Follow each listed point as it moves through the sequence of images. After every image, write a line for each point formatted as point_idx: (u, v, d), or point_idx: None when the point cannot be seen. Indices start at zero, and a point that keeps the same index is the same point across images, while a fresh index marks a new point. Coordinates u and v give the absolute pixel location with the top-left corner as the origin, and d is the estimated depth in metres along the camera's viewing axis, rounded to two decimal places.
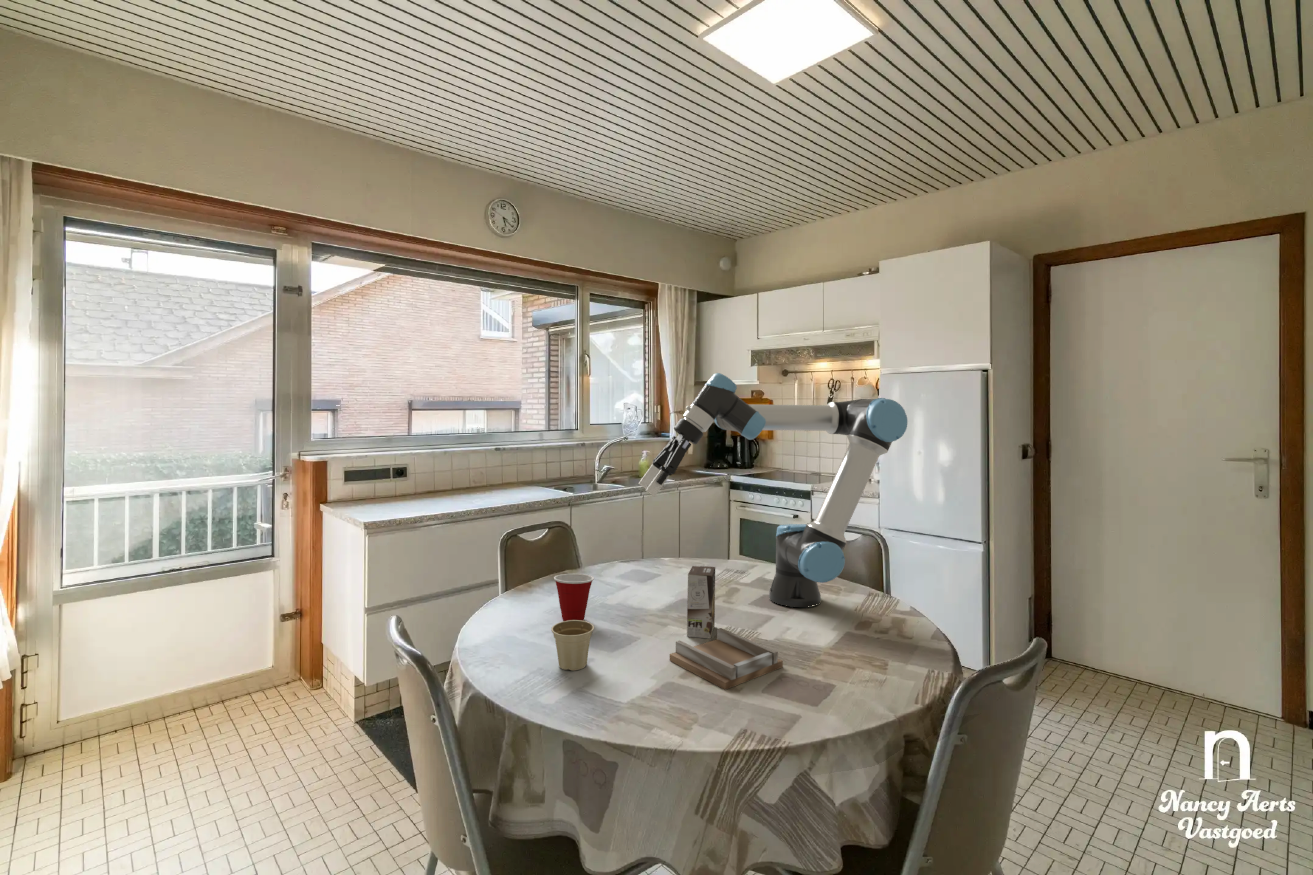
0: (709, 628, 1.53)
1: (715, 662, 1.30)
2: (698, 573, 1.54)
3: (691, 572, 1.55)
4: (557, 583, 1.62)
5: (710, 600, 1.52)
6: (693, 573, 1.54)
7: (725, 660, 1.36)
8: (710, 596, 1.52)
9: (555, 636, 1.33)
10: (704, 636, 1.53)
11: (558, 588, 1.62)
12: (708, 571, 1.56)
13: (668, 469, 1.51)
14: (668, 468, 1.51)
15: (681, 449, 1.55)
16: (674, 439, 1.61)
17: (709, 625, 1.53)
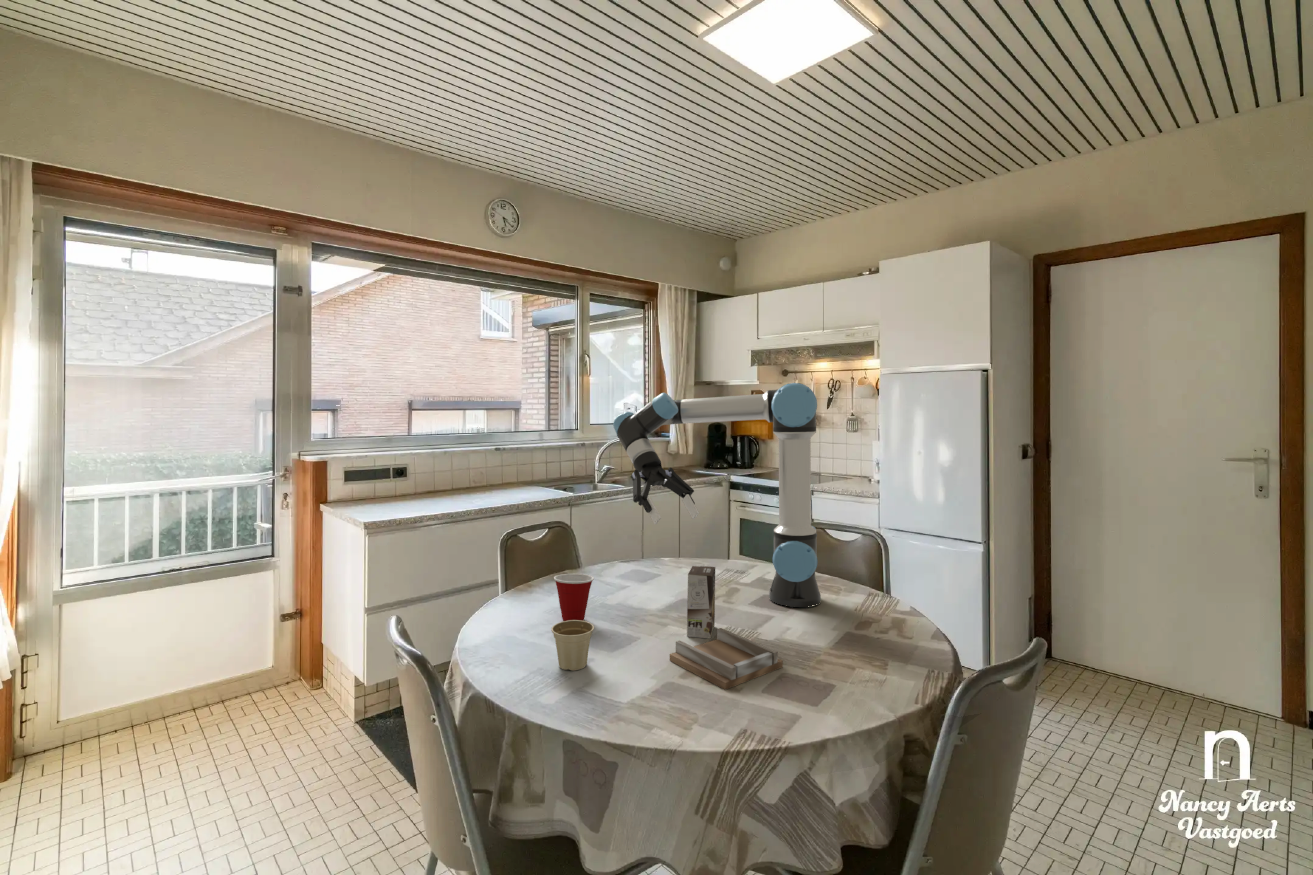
0: (709, 628, 1.53)
1: (715, 662, 1.30)
2: (698, 573, 1.54)
3: (691, 572, 1.55)
4: (557, 583, 1.62)
5: (710, 600, 1.52)
6: (693, 573, 1.54)
7: (725, 660, 1.36)
8: (710, 596, 1.52)
9: (555, 636, 1.33)
10: (704, 636, 1.53)
11: (558, 588, 1.62)
12: (708, 571, 1.56)
13: (635, 500, 1.62)
14: (634, 499, 1.62)
15: (634, 480, 1.67)
16: None
17: (709, 625, 1.53)
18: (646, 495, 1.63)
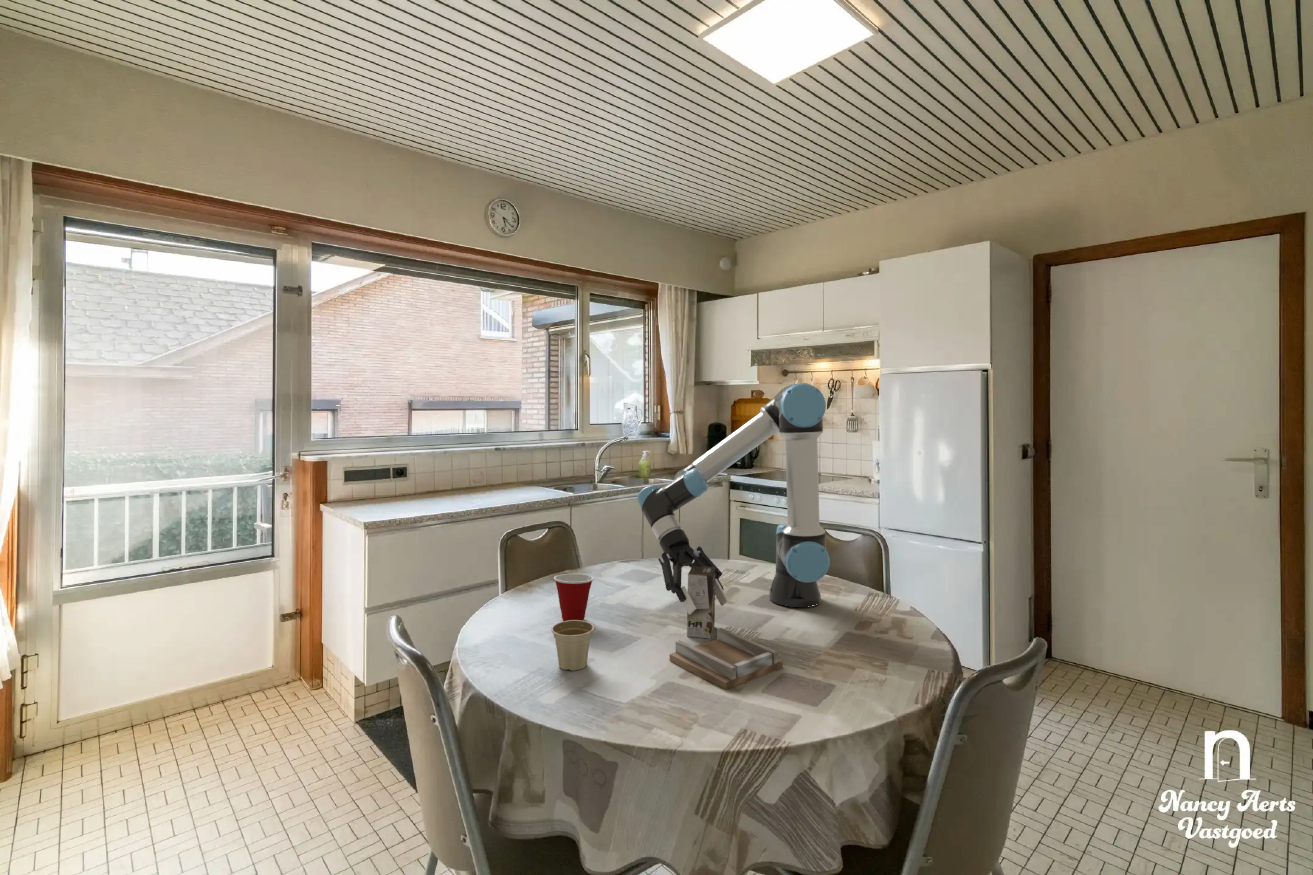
0: (709, 628, 1.53)
1: (715, 662, 1.30)
2: (698, 573, 1.54)
3: (691, 572, 1.55)
4: (557, 583, 1.62)
5: (710, 600, 1.52)
6: (693, 573, 1.54)
7: (725, 660, 1.36)
8: (710, 596, 1.52)
9: (555, 636, 1.33)
10: (704, 636, 1.53)
11: (558, 588, 1.62)
12: (708, 571, 1.56)
13: (668, 588, 1.54)
14: (667, 588, 1.54)
15: (663, 565, 1.58)
16: None
17: (709, 625, 1.53)
18: (679, 582, 1.54)
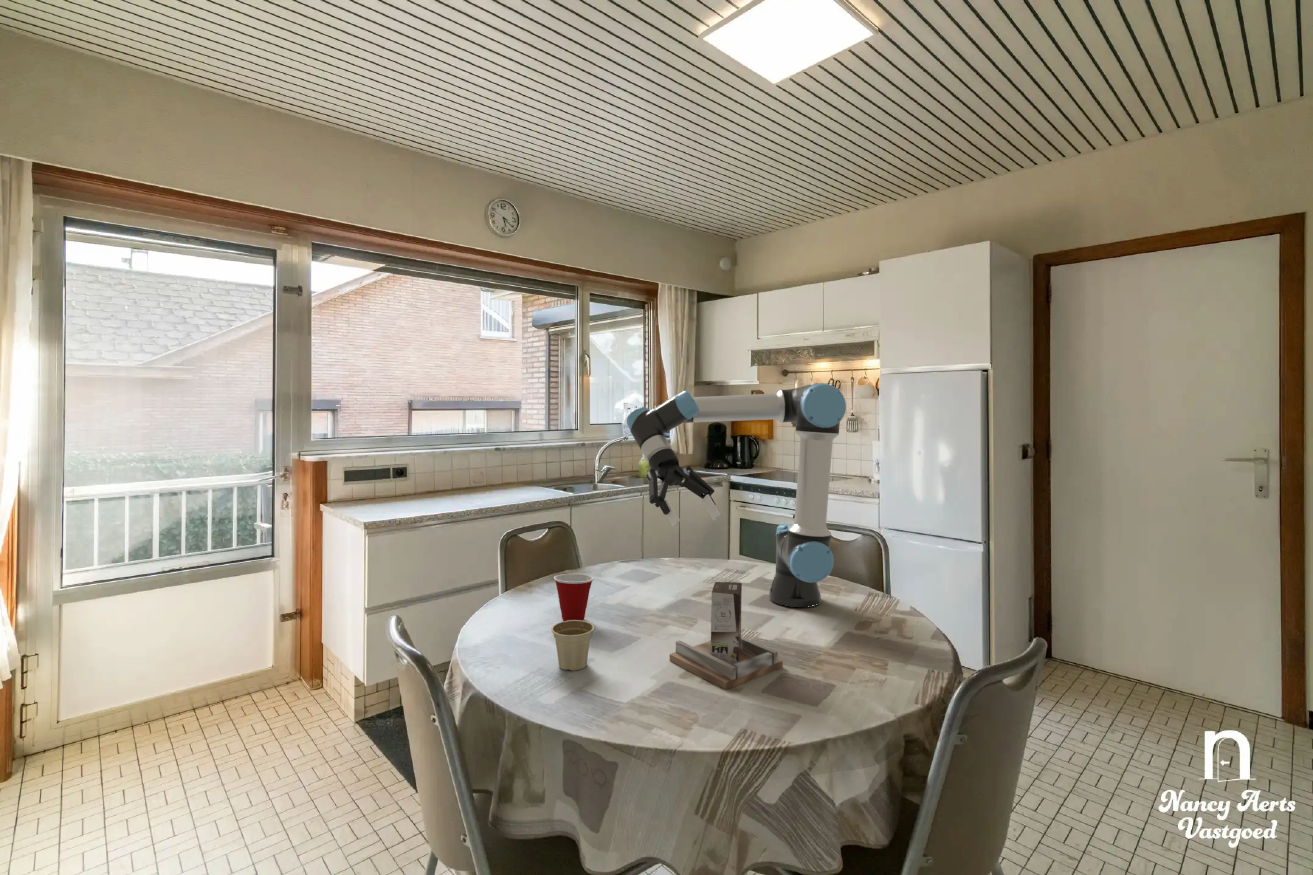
0: (736, 654, 1.33)
1: (715, 662, 1.30)
2: (723, 591, 1.34)
3: (715, 590, 1.35)
4: (557, 583, 1.62)
5: (737, 622, 1.33)
6: (717, 591, 1.35)
7: None
8: (737, 617, 1.33)
9: (555, 636, 1.33)
10: (730, 663, 1.33)
11: (558, 588, 1.62)
12: (734, 588, 1.36)
13: (651, 501, 1.50)
14: (650, 501, 1.50)
15: (650, 480, 1.55)
16: None
17: (736, 650, 1.33)
18: (663, 496, 1.51)
